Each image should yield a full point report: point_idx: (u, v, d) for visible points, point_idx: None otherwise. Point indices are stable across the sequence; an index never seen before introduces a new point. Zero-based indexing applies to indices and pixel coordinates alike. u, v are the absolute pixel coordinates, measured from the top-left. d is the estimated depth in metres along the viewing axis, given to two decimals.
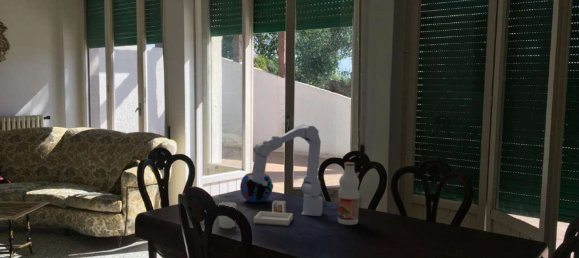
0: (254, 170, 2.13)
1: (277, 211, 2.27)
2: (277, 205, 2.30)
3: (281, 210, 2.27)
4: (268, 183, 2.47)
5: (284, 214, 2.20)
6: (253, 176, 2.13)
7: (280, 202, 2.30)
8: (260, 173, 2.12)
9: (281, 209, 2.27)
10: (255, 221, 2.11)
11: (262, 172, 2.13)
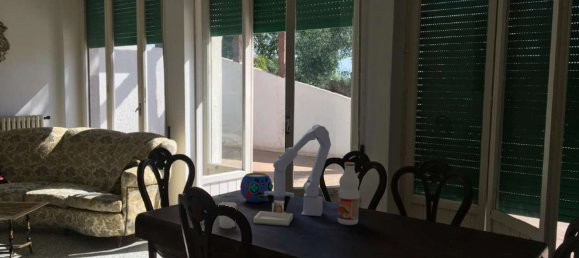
0: (279, 186, 2.24)
1: None
2: (277, 205, 2.30)
3: (281, 211, 2.27)
4: (268, 183, 2.47)
5: (284, 214, 2.20)
6: (279, 191, 2.24)
7: (280, 202, 2.30)
8: (284, 187, 2.26)
9: (280, 211, 2.26)
10: (255, 221, 2.11)
11: None
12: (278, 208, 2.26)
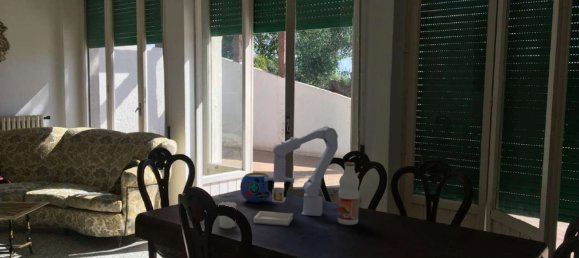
0: (279, 171, 2.23)
1: None
2: (277, 192, 2.29)
3: (280, 199, 2.25)
4: None
5: (284, 214, 2.20)
6: (279, 177, 2.23)
7: (280, 189, 2.29)
8: (284, 172, 2.25)
9: (280, 198, 2.25)
10: (255, 221, 2.11)
11: None
12: (278, 196, 2.24)
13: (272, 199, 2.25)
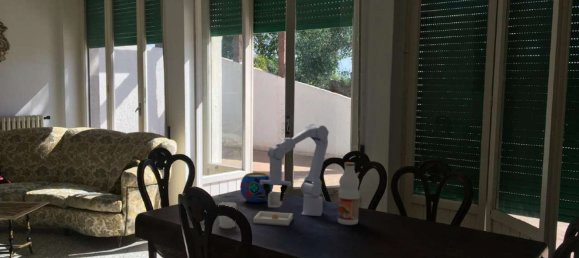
0: (275, 174, 2.14)
1: (273, 215, 2.13)
2: (273, 196, 2.21)
3: (277, 217, 2.12)
4: None
5: (284, 214, 2.20)
6: (275, 180, 2.15)
7: (276, 193, 2.20)
8: (281, 175, 2.16)
9: None
10: (255, 221, 2.11)
11: (281, 174, 2.17)
12: None
13: (268, 204, 2.16)
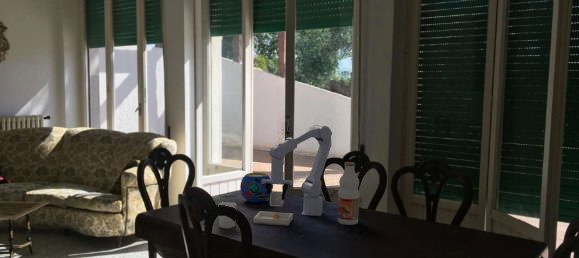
0: (277, 173, 2.17)
1: (276, 214, 2.15)
2: (275, 196, 2.23)
3: (279, 216, 2.14)
4: None
5: (284, 214, 2.20)
6: (277, 179, 2.18)
7: (278, 193, 2.23)
8: (282, 174, 2.19)
9: (279, 217, 2.15)
10: (255, 221, 2.11)
11: None
12: None
13: (270, 203, 2.19)
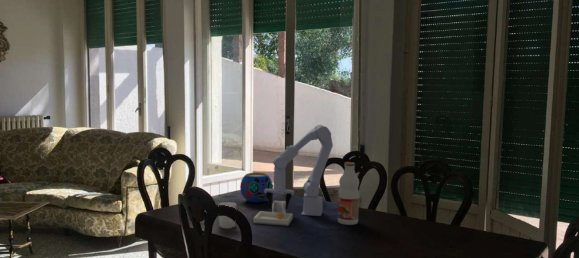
0: (279, 183, 2.24)
1: None
2: (277, 205, 2.30)
3: (282, 217, 2.17)
4: (268, 183, 2.47)
5: (284, 214, 2.20)
6: (279, 189, 2.24)
7: (280, 202, 2.30)
8: (284, 184, 2.26)
9: (282, 217, 2.16)
10: (255, 221, 2.11)
11: None
12: (278, 216, 2.16)
13: None
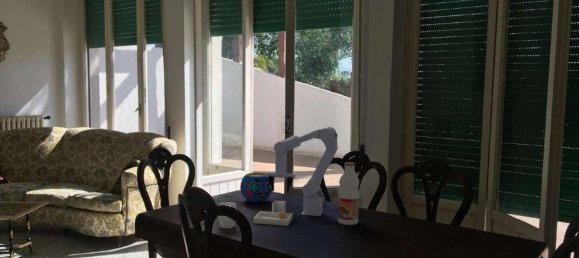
0: (281, 167, 2.32)
1: (280, 217, 2.18)
2: (277, 205, 2.30)
3: (283, 216, 2.18)
4: (268, 183, 2.47)
5: None
6: (281, 172, 2.32)
7: (280, 202, 2.30)
8: (286, 168, 2.33)
9: (283, 215, 2.18)
10: (255, 221, 2.11)
11: (286, 167, 2.34)
12: (281, 212, 2.18)
13: None
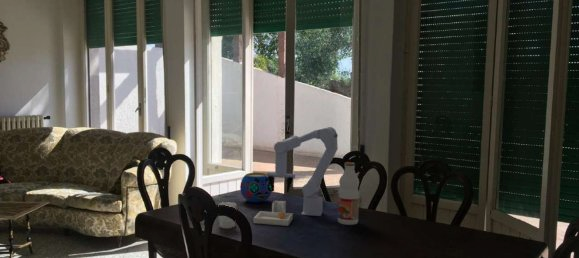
0: (281, 167, 2.32)
1: (280, 217, 2.18)
2: (277, 205, 2.30)
3: (283, 216, 2.18)
4: (268, 183, 2.47)
5: None
6: (281, 172, 2.32)
7: (280, 202, 2.30)
8: (286, 168, 2.33)
9: (283, 215, 2.18)
10: (255, 221, 2.11)
11: (286, 167, 2.34)
12: (281, 212, 2.18)
13: None
